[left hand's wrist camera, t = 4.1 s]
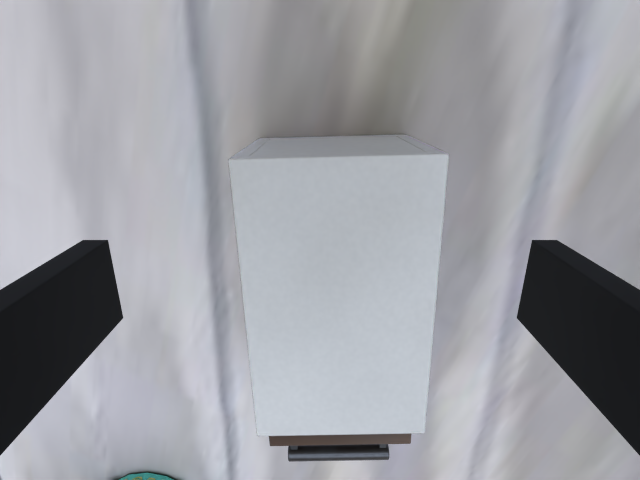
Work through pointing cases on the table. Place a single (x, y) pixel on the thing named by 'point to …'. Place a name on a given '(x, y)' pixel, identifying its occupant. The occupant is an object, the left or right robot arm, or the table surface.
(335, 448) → the drawer
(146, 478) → the decorative hourglass
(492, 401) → the table surface
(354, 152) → the grey box
